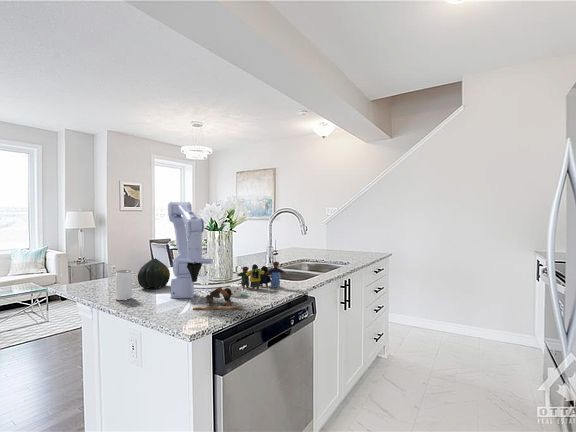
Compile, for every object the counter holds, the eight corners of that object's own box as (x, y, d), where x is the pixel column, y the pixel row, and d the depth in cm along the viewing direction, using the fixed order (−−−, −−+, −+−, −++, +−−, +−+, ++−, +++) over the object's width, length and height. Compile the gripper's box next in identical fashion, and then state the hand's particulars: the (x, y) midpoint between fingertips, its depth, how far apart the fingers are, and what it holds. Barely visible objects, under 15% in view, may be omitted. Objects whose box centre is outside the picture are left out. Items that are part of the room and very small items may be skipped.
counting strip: (192, 309, 125) (192, 307, 125) (194, 308, 127) (194, 306, 127) (242, 309, 125) (242, 307, 125) (243, 308, 127) (243, 306, 127)
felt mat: (230, 297, 143) (230, 296, 143) (233, 293, 150) (233, 292, 150) (246, 297, 143) (246, 296, 143) (248, 293, 150) (248, 292, 150)
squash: (148, 281, 150) (164, 254, 160) (126, 280, 157) (142, 254, 166) (166, 296, 160) (180, 270, 169) (145, 294, 166) (159, 269, 175)
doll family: (278, 284, 170) (278, 258, 170) (286, 288, 162) (286, 261, 162) (236, 289, 159) (236, 262, 159) (242, 293, 151) (242, 264, 151)
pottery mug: (225, 311, 125) (214, 293, 125) (209, 318, 129) (198, 301, 129) (241, 296, 136) (231, 279, 135) (225, 303, 140) (215, 287, 140)
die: (229, 296, 143) (229, 286, 143) (231, 294, 148) (231, 283, 148) (240, 296, 143) (240, 286, 143) (241, 294, 148) (241, 283, 148)
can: (135, 298, 142) (135, 270, 142) (122, 301, 136) (122, 273, 136) (125, 296, 145) (125, 269, 145) (111, 300, 139) (111, 271, 139)
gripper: (173, 249, 129) (173, 283, 130) (210, 249, 129) (210, 283, 130) (179, 247, 137) (179, 280, 137) (213, 247, 137) (214, 280, 137)
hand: (194, 281), depth 134 cm, fingers closed
